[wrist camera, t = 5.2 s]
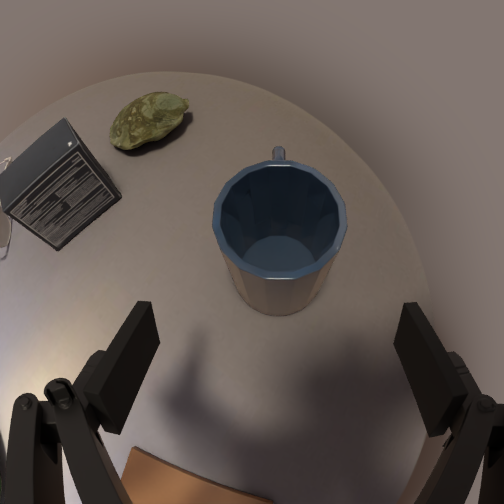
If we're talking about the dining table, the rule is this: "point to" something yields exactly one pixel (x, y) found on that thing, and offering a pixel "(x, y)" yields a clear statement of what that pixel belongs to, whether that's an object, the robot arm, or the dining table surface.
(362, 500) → the dining table surface
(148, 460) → the cork mat
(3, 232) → the eyeglasses
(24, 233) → the dining table surface
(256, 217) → the mug
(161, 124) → the seashell
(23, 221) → the small box
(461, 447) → the robot arm
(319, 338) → the dining table surface
